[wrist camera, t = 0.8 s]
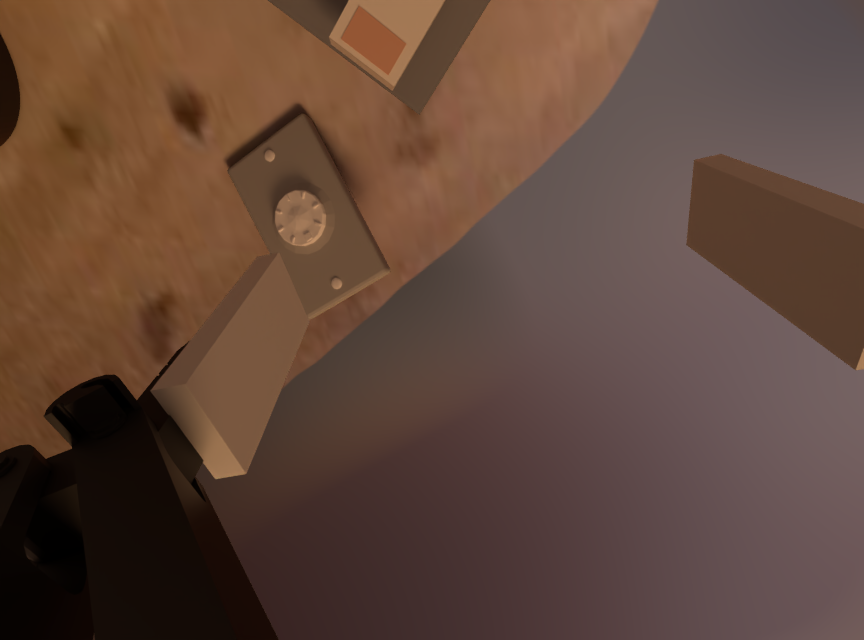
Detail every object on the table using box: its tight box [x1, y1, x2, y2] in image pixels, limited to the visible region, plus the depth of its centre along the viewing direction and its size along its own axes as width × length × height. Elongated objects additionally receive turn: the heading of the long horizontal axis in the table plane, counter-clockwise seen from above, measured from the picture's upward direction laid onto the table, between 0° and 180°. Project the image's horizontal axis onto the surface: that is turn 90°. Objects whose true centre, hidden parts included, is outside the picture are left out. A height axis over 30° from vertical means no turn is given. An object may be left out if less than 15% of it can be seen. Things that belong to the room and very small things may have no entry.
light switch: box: [228, 113, 390, 319], centre depth 38 cm, size 8×6×14 cm
